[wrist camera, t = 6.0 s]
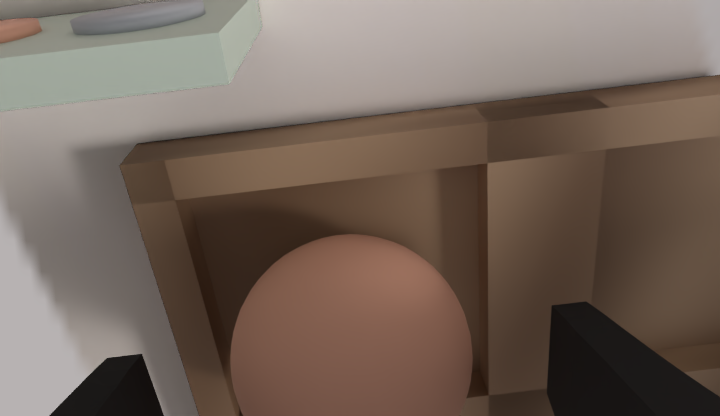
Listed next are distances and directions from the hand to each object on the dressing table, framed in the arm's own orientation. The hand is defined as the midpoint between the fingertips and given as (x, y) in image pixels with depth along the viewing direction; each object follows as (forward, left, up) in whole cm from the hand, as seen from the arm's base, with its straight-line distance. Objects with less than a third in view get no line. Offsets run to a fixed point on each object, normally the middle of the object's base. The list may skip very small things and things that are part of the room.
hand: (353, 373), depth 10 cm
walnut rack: (-4, +4, -3) cm, 6 cm away
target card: (+4, -6, -3) cm, 7 cm away
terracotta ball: (0, 0, -3) cm, 3 cm away
